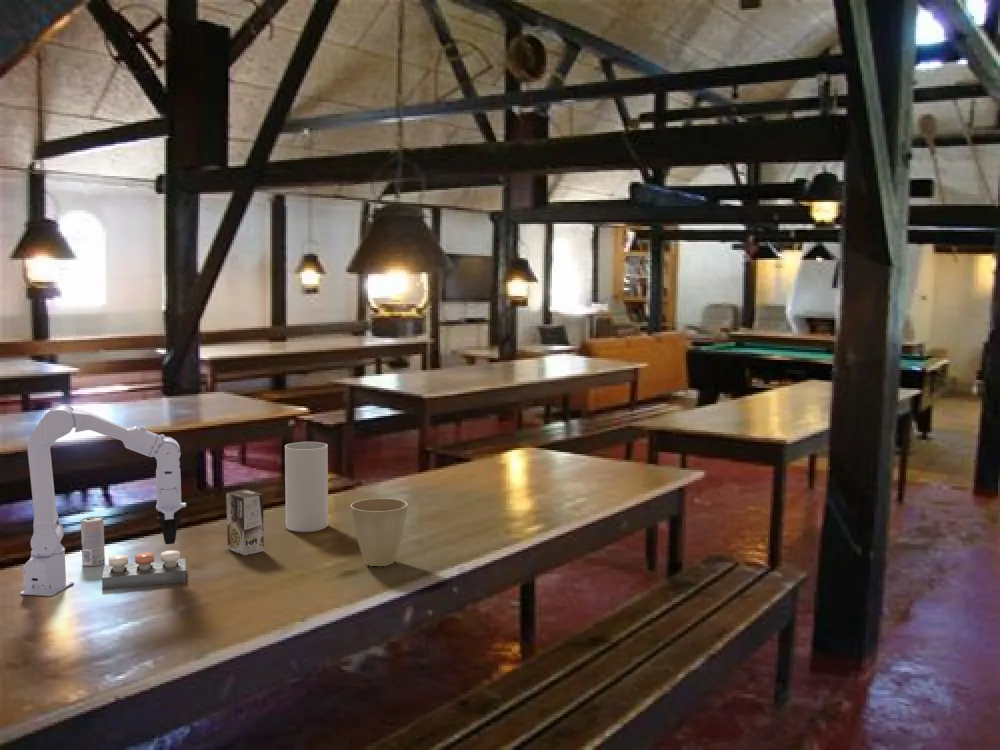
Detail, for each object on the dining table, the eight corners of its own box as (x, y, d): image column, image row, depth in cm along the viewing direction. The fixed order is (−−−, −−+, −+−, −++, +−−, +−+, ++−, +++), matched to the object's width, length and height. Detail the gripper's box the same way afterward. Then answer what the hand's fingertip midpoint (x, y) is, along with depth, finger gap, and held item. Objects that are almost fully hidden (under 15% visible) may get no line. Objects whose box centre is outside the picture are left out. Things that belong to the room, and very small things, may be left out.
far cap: (161, 572, 227) (160, 556, 227) (161, 567, 231) (161, 551, 231) (180, 570, 229) (179, 554, 228) (179, 565, 233) (179, 549, 232)
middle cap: (135, 574, 225) (134, 558, 225) (135, 569, 229) (135, 553, 229) (154, 573, 227) (153, 557, 226) (154, 567, 231) (154, 551, 230)
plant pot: (415, 557, 249) (415, 500, 247) (394, 574, 235) (394, 513, 233) (364, 552, 253) (364, 495, 251) (341, 568, 239) (340, 508, 237)
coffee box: (265, 551, 253) (264, 493, 251) (244, 556, 248) (243, 497, 246) (247, 544, 259) (246, 488, 257) (226, 549, 254) (225, 492, 252)
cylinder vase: (333, 522, 283) (332, 442, 280) (321, 533, 270) (320, 450, 267) (293, 521, 284) (292, 441, 281) (280, 532, 271) (279, 448, 269)
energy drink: (98, 559, 243) (97, 515, 242) (108, 563, 240) (107, 518, 239) (78, 564, 239) (76, 519, 238) (88, 568, 236) (87, 522, 235)
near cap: (108, 577, 223) (108, 560, 223) (109, 571, 227) (109, 555, 227) (128, 575, 225) (127, 559, 224) (128, 570, 229) (128, 554, 228)
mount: (102, 589, 220) (101, 577, 220) (105, 576, 230) (104, 565, 229) (185, 582, 227) (185, 570, 226) (185, 569, 236) (185, 558, 236)
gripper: (186, 492, 222) (187, 547, 224) (185, 479, 236) (186, 531, 237) (155, 494, 220) (156, 549, 221) (155, 481, 233) (157, 533, 235)
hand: (170, 540), depth 229 cm, fingers open, 5 cm apart
